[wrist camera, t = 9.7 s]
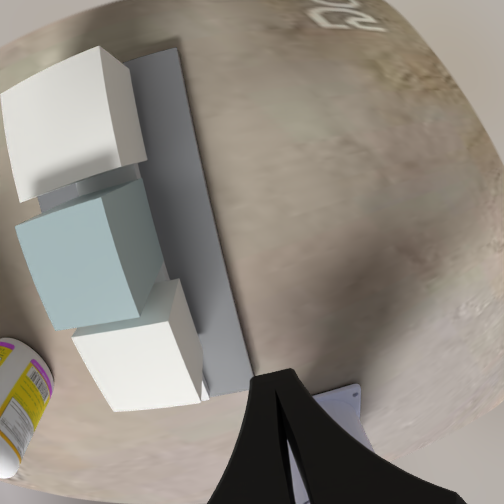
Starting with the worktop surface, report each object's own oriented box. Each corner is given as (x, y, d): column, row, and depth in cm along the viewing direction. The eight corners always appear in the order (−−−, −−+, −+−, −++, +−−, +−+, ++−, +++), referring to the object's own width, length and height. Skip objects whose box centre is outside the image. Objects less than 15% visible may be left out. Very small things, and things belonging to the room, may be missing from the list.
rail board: (255, 379, 22) (266, 445, 16) (129, 398, 22) (114, 459, 16) (178, 52, 15) (159, 9, 9) (28, 108, 14) (-36, 103, 9)
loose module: (164, 259, 17) (139, 317, 11) (99, 274, 17) (55, 330, 11) (142, 177, 15) (101, 197, 10) (75, 197, 15) (14, 226, 9)
